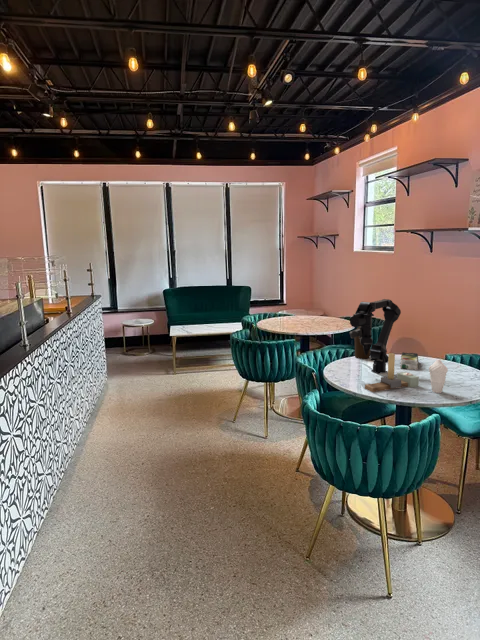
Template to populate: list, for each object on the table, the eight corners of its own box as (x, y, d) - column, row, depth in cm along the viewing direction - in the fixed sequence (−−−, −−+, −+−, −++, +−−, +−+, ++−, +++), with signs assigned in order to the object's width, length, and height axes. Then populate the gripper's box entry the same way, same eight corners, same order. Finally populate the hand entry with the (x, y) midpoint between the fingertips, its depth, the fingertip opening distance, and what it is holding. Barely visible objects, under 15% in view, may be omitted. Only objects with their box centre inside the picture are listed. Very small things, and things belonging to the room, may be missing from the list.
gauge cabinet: (404, 381, 221) (404, 370, 221) (418, 386, 212) (418, 375, 211) (396, 382, 220) (397, 371, 219) (410, 387, 210) (410, 376, 210)
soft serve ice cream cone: (445, 395, 198) (447, 362, 196) (426, 392, 202) (427, 360, 200) (447, 390, 205) (449, 358, 202) (429, 387, 209) (430, 356, 207)
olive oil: (363, 360, 267) (364, 321, 263) (350, 357, 276) (351, 319, 272) (374, 357, 273) (375, 319, 269) (361, 354, 282) (362, 317, 278)
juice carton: (418, 370, 241) (418, 360, 240) (400, 369, 245) (400, 359, 244) (418, 362, 259) (418, 352, 259) (401, 361, 263) (401, 352, 262)
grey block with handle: (390, 382, 217) (391, 351, 215) (401, 386, 209) (402, 355, 207) (380, 383, 215) (381, 352, 213) (391, 388, 207) (392, 356, 205)
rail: (399, 383, 218) (399, 379, 218) (407, 386, 212) (407, 382, 212) (364, 388, 211) (364, 384, 210) (372, 392, 205) (372, 388, 205)
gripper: (350, 322, 238) (349, 349, 241) (350, 327, 221) (350, 356, 223) (370, 322, 236) (370, 349, 238) (373, 328, 218) (372, 357, 220)
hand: (365, 353), depth 230 cm, fingers open, 9 cm apart
